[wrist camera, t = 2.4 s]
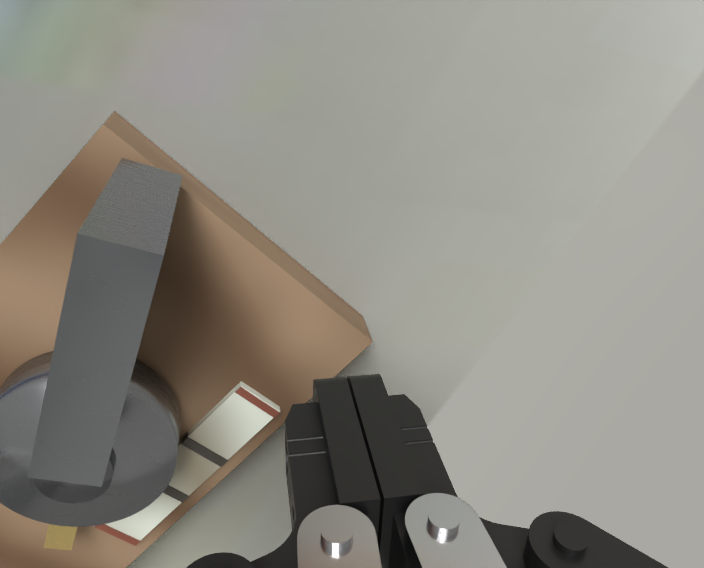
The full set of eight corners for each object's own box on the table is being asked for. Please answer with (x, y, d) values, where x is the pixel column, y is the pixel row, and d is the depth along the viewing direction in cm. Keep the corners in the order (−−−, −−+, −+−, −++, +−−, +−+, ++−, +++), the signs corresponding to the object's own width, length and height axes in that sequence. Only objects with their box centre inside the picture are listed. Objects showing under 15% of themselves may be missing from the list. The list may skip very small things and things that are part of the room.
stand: (43, 612, 29) (29, 661, 27) (-229, 512, 24) (-272, 563, 22) (362, 315, 25) (374, 346, 23) (114, 110, 19) (101, 127, 17)
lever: (-25, 516, 23) (-101, 677, 18) (38, 132, 17) (-46, 202, 12) (146, 534, 25) (124, 684, 20) (254, 196, 19) (264, 280, 14)
